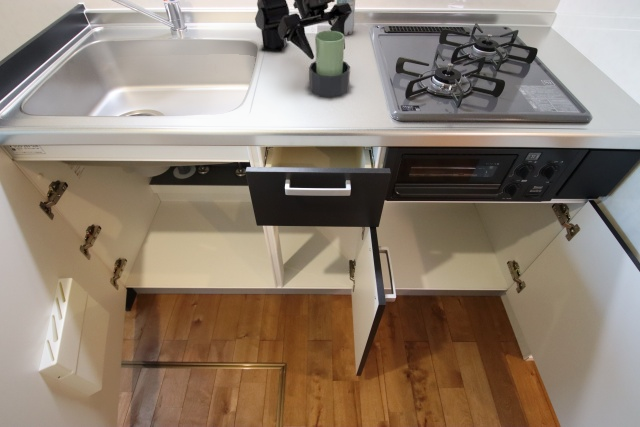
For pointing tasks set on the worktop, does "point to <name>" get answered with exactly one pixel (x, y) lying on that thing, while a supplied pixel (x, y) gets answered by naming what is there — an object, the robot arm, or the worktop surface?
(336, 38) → the cup
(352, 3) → the bottle
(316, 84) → the bucket
